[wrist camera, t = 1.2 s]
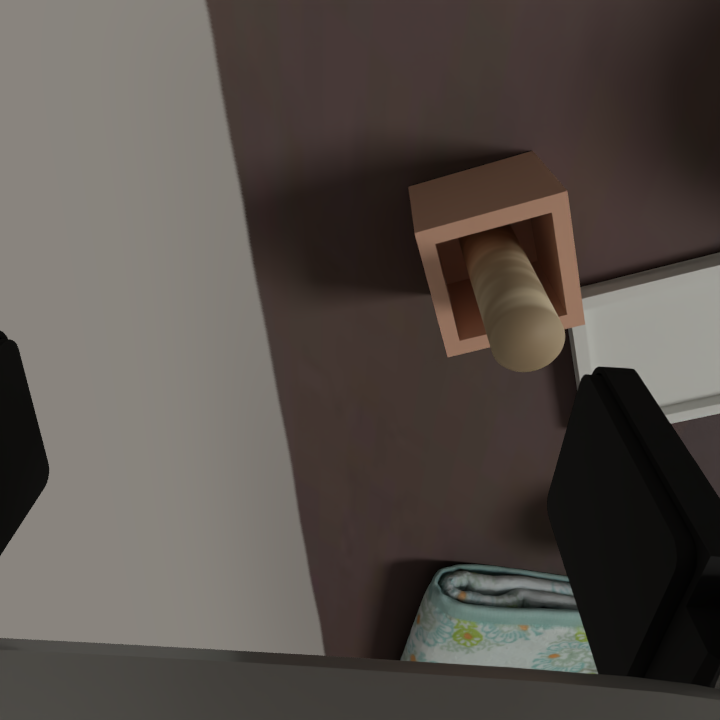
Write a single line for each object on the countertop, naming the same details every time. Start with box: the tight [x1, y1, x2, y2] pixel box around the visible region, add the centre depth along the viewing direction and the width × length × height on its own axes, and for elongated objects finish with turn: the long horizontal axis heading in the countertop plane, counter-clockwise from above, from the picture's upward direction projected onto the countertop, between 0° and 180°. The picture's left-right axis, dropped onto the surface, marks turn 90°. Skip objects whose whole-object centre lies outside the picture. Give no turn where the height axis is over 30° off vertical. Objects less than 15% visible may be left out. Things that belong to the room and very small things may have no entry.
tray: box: [568, 252, 720, 423], centre depth 41 cm, size 11×11×2 cm
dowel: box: [458, 224, 565, 372], centre depth 31 cm, size 3×3×13 cm
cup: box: [408, 151, 585, 357], centre depth 34 cm, size 7×7×8 cm
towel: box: [400, 564, 598, 674], centre depth 56 cm, size 18×21×5 cm
